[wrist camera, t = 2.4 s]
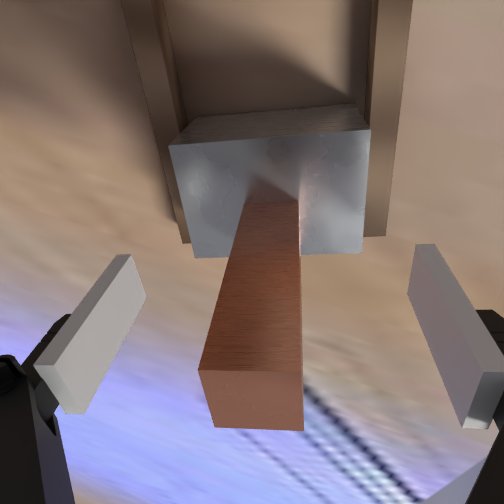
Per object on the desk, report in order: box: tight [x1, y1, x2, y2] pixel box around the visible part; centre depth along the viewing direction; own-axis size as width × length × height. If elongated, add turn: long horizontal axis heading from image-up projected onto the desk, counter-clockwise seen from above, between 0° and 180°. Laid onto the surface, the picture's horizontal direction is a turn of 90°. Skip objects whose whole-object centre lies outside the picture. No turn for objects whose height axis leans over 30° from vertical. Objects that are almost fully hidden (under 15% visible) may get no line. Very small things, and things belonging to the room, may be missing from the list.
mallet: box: [168, 103, 371, 431], centre depth 17 cm, size 7×10×17 cm
